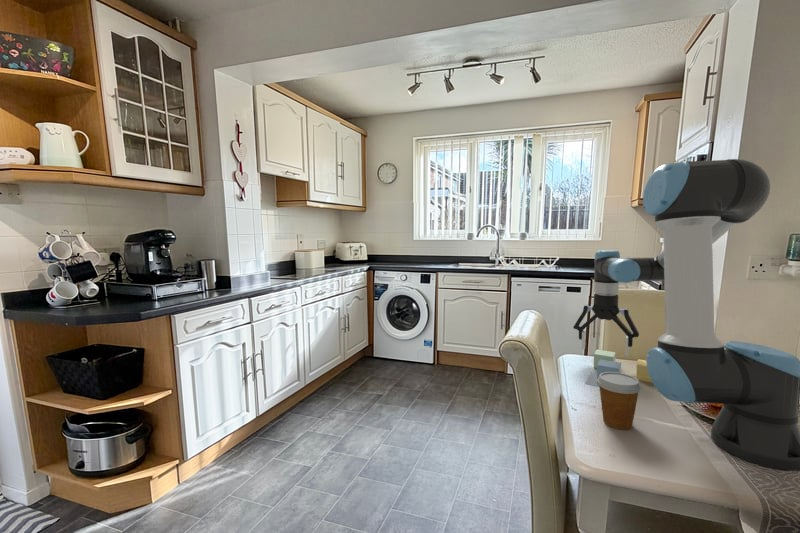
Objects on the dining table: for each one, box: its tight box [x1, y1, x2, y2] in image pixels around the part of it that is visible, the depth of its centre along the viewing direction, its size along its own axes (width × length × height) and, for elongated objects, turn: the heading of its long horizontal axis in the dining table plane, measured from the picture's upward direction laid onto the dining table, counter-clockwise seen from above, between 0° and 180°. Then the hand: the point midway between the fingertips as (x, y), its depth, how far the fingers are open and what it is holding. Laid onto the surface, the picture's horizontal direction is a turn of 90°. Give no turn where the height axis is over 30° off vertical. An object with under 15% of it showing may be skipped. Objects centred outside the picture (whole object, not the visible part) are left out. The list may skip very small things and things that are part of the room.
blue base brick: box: [596, 360, 622, 383], centre depth 113 cm, size 6×6×6 cm
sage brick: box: [593, 349, 616, 369], centre depth 126 cm, size 6×6×6 cm
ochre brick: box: [635, 358, 653, 384], centre depth 115 cm, size 6×6×6 cm
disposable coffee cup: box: [597, 372, 642, 431], centre depth 90 cm, size 10×10×12 cm
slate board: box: [584, 371, 599, 388], centre depth 114 cm, size 12×12×1 cm
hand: (604, 351), depth 126 cm, fingers open, 13 cm apart
